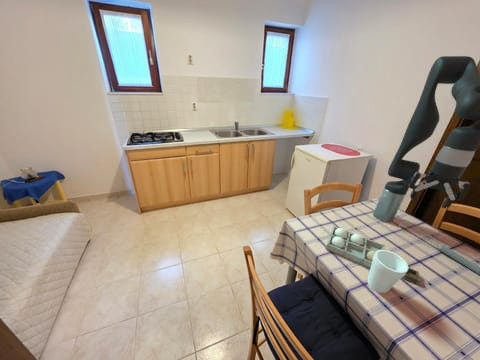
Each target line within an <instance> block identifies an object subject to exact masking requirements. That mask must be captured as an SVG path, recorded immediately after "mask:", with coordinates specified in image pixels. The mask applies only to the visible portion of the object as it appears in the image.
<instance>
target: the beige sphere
mask: <svg viewBox="0 0 480 360" xmlns="http://www.w3.org/2000/svg"><path fill="white" fill-rule="evenodd" d="M375 253H376V251H369V252H368V253H367V259H368V260H369V261H371V262H372V261H373V256H374V254H375Z"/></svg>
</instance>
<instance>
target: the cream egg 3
mask: <svg viewBox="0 0 480 360" xmlns="http://www.w3.org/2000/svg"><path fill="white" fill-rule="evenodd" d="M353 234H354V235H352V236H351V242H352V243H354V244H357V245H362V244H363V241H364V240H363V237H364V236H362V235H361V234H359V233H353Z"/></svg>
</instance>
